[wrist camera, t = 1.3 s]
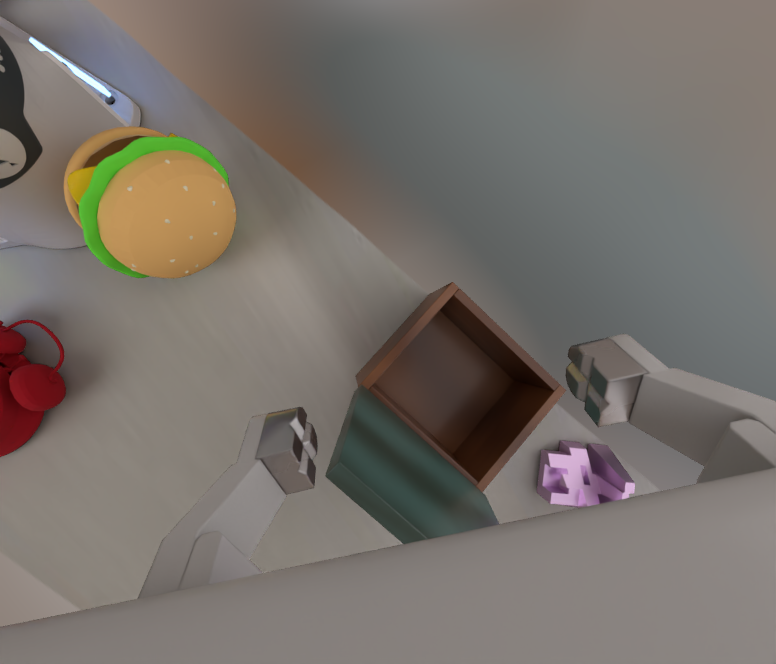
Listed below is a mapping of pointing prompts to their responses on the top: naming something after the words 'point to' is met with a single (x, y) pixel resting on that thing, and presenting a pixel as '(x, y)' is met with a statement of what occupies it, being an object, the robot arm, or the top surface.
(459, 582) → the robot arm
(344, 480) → the dark green box lid
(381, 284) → the top surface
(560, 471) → the letters
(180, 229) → the hamburger
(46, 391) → the alarm clock
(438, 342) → the brown open box
